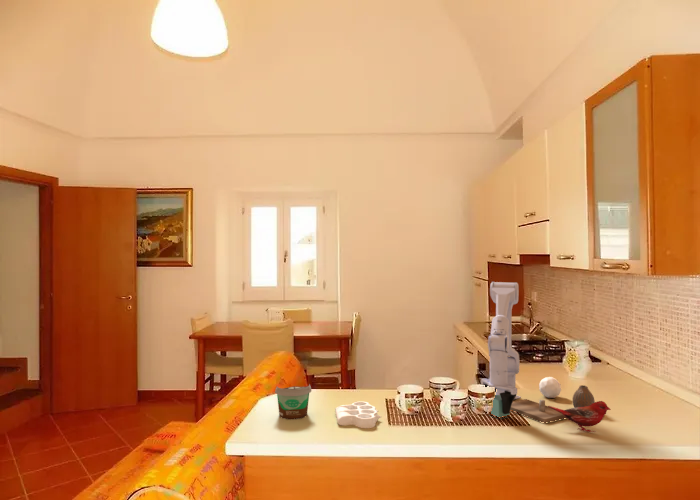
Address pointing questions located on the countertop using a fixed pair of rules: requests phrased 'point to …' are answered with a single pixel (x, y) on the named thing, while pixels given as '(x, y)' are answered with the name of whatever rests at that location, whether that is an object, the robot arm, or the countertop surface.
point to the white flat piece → (357, 414)
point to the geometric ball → (550, 387)
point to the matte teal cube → (498, 407)
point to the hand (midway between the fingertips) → (498, 410)
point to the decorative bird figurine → (585, 414)
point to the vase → (582, 397)
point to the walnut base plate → (536, 410)
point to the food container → (293, 401)
